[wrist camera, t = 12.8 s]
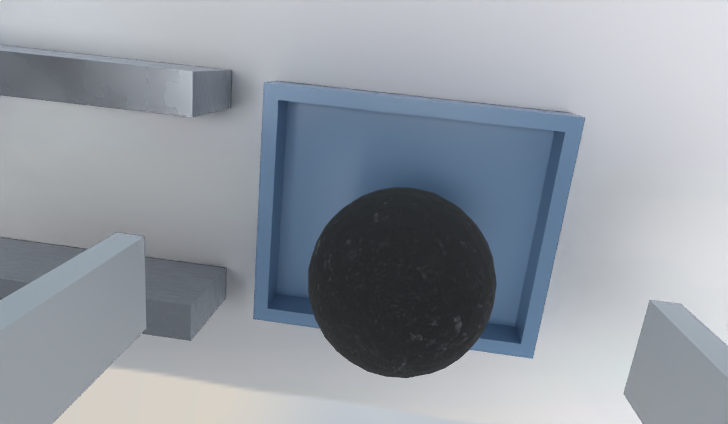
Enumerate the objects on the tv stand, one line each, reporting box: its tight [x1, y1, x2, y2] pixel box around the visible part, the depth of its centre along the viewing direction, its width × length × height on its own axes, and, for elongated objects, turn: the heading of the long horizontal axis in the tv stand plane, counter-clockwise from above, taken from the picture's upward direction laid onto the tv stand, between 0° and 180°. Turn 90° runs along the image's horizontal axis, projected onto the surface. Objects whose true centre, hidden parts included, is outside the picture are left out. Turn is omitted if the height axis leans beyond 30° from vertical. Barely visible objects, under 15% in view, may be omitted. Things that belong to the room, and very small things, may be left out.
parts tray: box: [253, 81, 585, 358], centre depth 22 cm, size 12×10×2 cm
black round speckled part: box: [308, 187, 497, 378], centre depth 18 cm, size 6×6×10 cm
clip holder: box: [0, 45, 232, 341], centre depth 22 cm, size 16×11×4 cm
